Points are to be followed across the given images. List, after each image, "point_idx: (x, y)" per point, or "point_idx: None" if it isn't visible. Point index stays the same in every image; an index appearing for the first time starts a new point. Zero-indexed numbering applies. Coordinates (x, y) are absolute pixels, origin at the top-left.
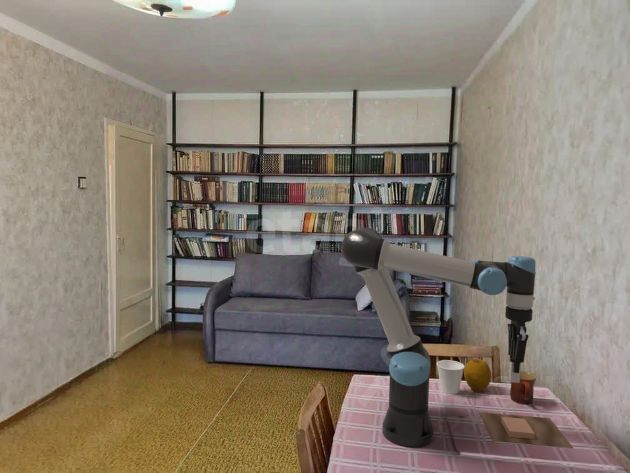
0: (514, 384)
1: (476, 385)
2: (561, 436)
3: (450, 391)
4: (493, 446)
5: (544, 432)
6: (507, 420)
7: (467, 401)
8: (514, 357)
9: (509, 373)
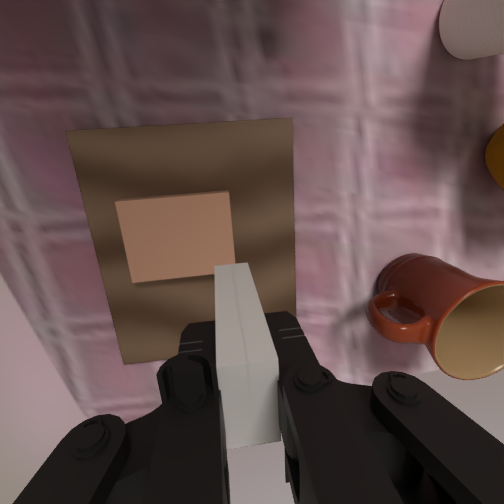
0: (441, 284)
1: (499, 138)
2: None
3: (453, 3)
4: (63, 135)
5: (195, 310)
6: (204, 210)
7: (403, 93)
8: (102, 474)
9: (249, 283)
